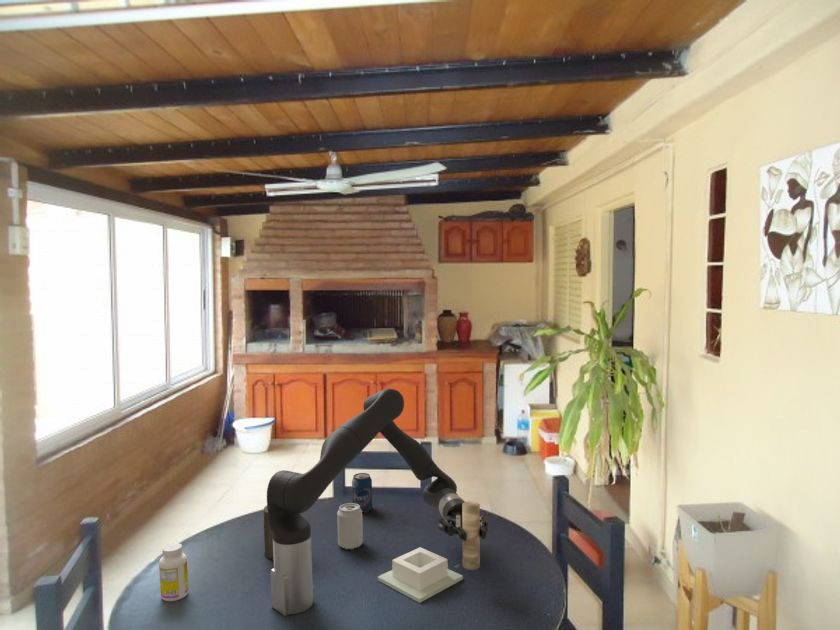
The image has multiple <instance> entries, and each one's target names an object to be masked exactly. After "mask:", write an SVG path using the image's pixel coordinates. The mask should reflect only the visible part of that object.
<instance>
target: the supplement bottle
mask: <svg viewBox="0 0 840 630" xmlns="http://www.w3.org/2000/svg"><path fill="white" fill-rule="evenodd" d="M161 552H162V555H163V556H162V557H161V558H160V559H159V562H158V567H159V582H160V583H159V586H160V587H159V588H160V597H161V599H162V601H166V602H176V601H180V600H181V599H184V598H185V597H187V595H188V594H189V591H190V590H189V588H190V587H189V586H190V585H189V573H188V572H189V571H188V558H187V557H188V556H187V555H186V554H185V553H184V552H183V545H182V544H181V543H178V542H177V543H176V542H175V543H174V542H173V543H169V544H166V545H164V546H163V547H162V549H161Z"/></svg>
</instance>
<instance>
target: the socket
mask: <svg viewBox="0 0 840 630" xmlns="http://www.w3.org/2000/svg"><path fill="white" fill-rule="evenodd" d="M391 561H392V562H391V563H392V564H391V565H392V567H391V568H392V569H391V570H389V571H386V572H384V573H382V574H380V575H379V576H377V581H378V582H380V583H382V584H384V585H385V586H387V587H389V588H391V589H393V590H394V591H397V592H399V593H400V594H403V596H406V597H408V598H410V599H411V600H413V601H416V602H417V603H418V604H420V603H422V602H423V601H426V600H427V599H430V598H431V597H433V596H435V595H437V594H439V593H440V592H442V591H444V590H445V589H447V588H449V587H451V586H453V585H455V584H457V583H460V582H461V581H462V580H463V579H464V576H463V575H462V574H460V573H458V572H455V571H453V570H451V569H450V568H448V567H449V566H448V564H449V563H448V561H449V560H448V558H445V557H443V556H441V555H440V554H439V555H438V554H436V553H434V552H432V551H429V550H428V549H425V548H423V547H421V546H419V547H418V548H416V549H413V550H411V551H409V552H407V553H404V554H402V555H400V556H397V557H396V558H394V559H392V560H391Z"/></svg>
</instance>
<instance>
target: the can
mask: <svg viewBox="0 0 840 630" xmlns="http://www.w3.org/2000/svg"><path fill="white" fill-rule="evenodd" d="M336 515H337V517H336V519H337V523H336V524H337V544H338V546H339V547H340V548H341V547H342V549H343V548H345V549H344V550H348V549H350V550H355V549H354V548H356V549H358V548H359V547H361V546H362V545H363V543H364V536H363V535H364V534H363V533H364V531H363V527H364V525H363V513H362V510H361V509H360V506H359V505H358V504H355V503H352V502H347V503H344V504H341V505H340V506H339V507H338V511H337V512H336ZM357 547H358V548H357Z"/></svg>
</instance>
